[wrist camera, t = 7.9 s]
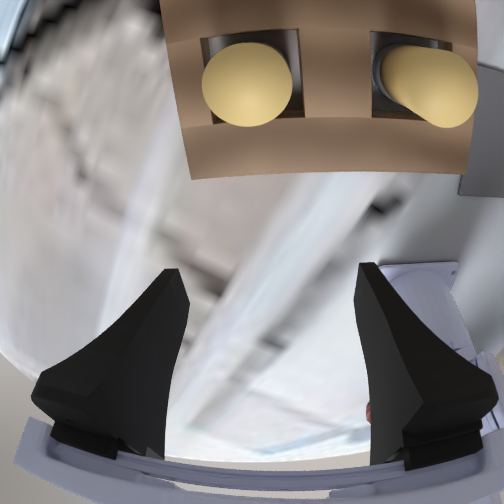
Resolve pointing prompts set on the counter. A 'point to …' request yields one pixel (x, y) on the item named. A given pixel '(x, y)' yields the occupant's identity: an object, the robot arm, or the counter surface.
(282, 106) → the tan domed cylinder
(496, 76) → the mat
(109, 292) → the counter surface
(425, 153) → the socket board
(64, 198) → the counter surface
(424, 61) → the yellow peg
